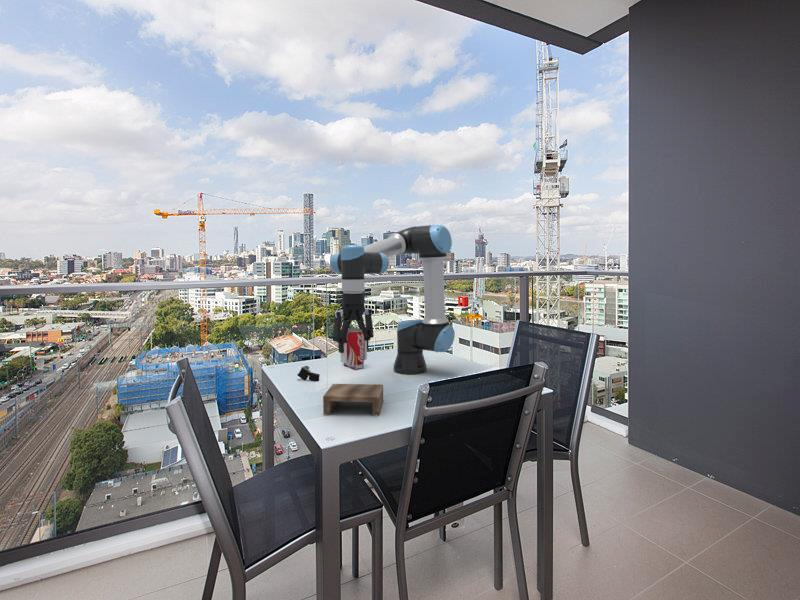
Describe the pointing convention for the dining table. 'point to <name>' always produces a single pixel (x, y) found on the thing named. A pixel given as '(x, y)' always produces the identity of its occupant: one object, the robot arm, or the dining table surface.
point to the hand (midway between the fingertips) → (353, 360)
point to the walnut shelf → (353, 396)
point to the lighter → (308, 374)
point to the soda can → (355, 347)
